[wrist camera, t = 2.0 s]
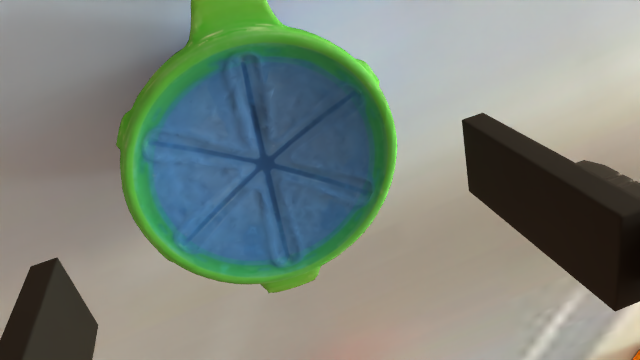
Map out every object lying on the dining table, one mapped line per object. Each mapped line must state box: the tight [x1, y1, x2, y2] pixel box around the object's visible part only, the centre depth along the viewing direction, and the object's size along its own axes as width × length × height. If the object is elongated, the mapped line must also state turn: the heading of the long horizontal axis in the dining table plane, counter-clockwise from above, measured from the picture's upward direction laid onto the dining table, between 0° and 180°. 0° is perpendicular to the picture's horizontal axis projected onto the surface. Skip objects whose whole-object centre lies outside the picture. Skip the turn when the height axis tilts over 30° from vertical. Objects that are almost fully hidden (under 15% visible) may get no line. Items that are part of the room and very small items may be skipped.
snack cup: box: [116, 0, 397, 293], centre depth 23 cm, size 16×10×10 cm
